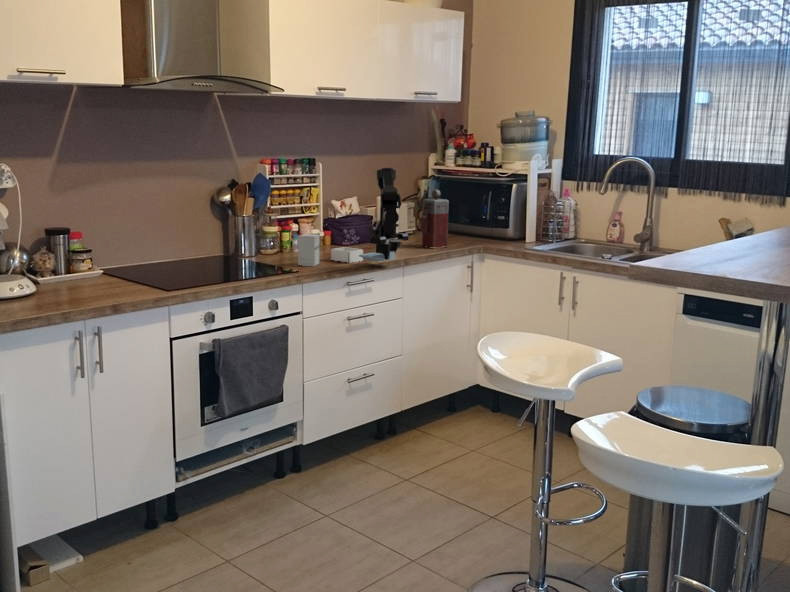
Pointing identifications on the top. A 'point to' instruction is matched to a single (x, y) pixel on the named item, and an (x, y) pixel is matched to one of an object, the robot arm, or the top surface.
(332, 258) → the tub
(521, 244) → the top surface
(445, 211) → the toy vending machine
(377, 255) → the light blue tapered piece
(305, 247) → the supplement box
